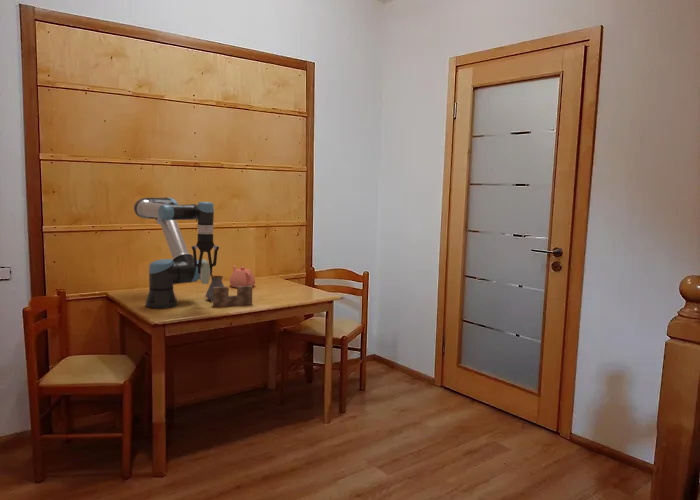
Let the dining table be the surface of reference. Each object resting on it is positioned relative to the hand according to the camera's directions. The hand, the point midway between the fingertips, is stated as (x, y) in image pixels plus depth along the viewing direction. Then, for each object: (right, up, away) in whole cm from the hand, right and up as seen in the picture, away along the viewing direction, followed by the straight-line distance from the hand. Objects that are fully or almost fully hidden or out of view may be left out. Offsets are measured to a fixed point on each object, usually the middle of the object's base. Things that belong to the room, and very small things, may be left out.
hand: (205, 279), depth 265 cm
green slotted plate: (-2, -1, +5) cm, 5 cm away
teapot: (+5, -8, +64) cm, 65 cm away
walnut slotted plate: (+11, -14, +14) cm, 23 cm away
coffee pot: (-3, -12, +29) cm, 32 cm away
